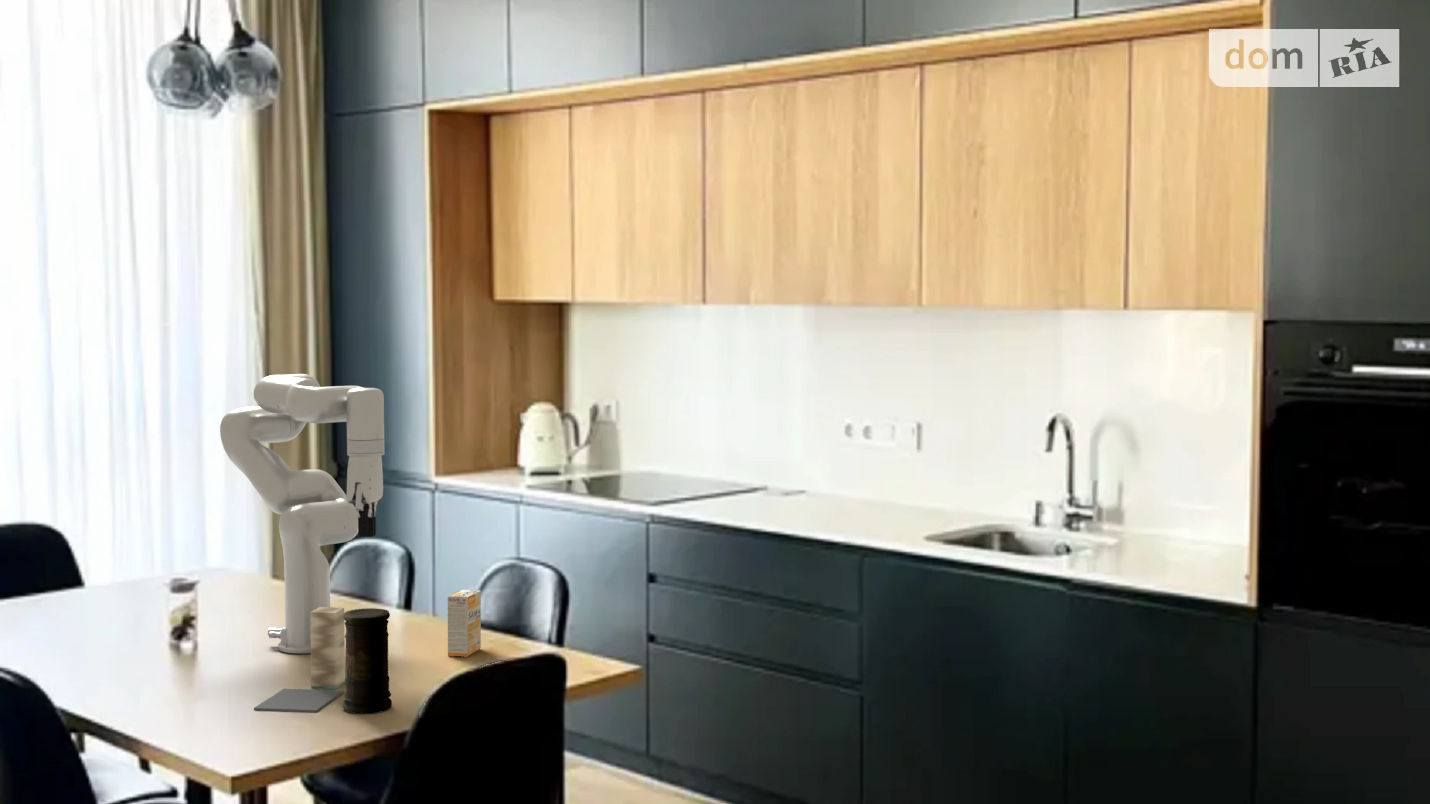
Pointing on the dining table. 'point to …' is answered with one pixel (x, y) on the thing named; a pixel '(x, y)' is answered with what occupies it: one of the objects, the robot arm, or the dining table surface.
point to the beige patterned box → (327, 647)
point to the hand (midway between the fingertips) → (367, 535)
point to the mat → (299, 700)
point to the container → (366, 661)
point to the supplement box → (464, 622)
